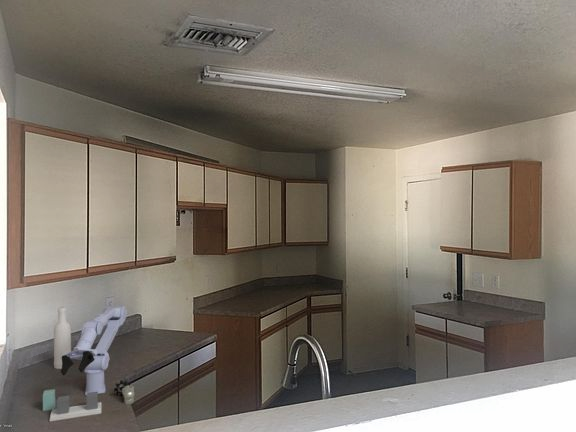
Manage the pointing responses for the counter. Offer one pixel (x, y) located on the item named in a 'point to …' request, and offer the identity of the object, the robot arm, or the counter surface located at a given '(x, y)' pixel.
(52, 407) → the block
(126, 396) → the valve
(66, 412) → the rail plate
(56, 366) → the bottle
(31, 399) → the counter surface
